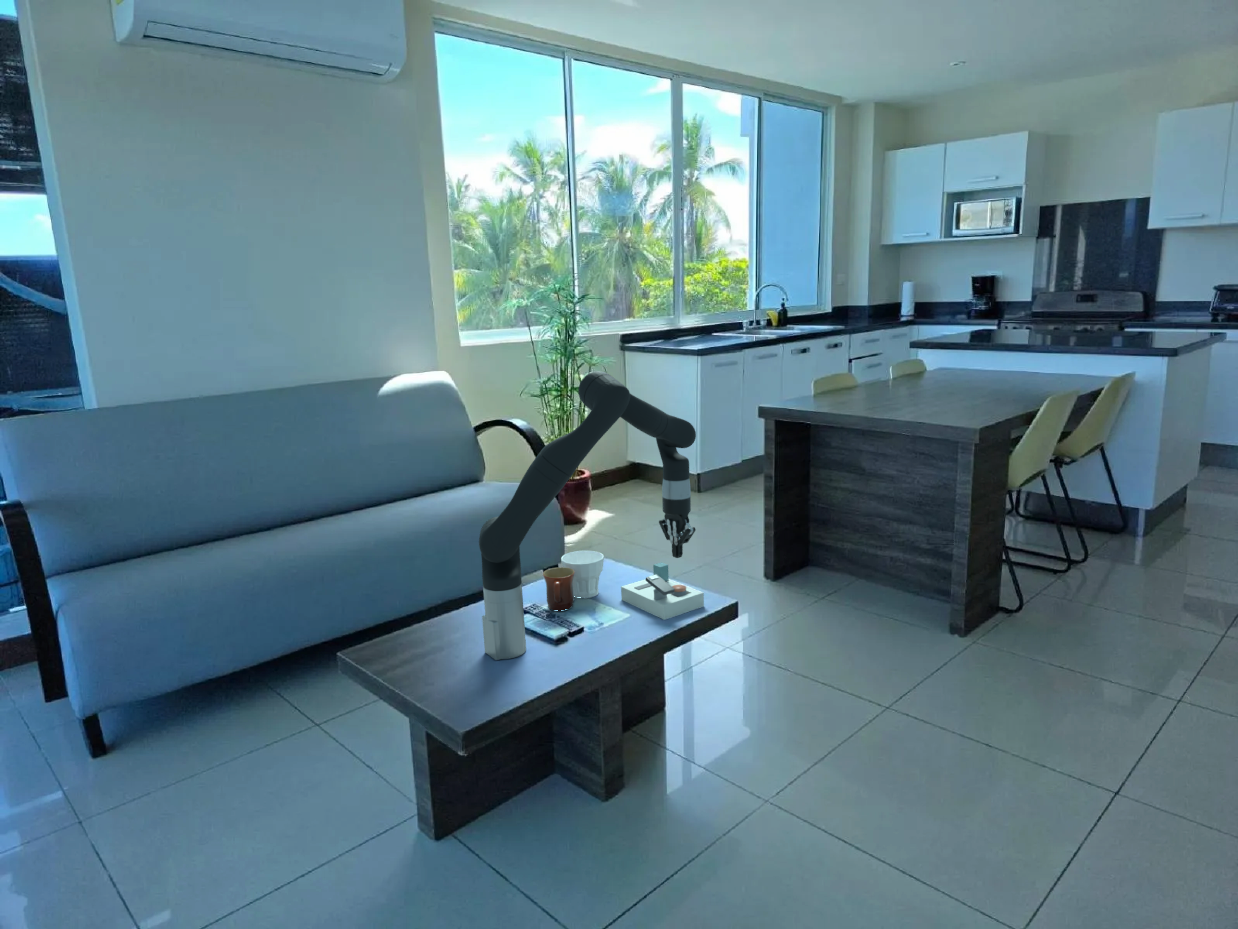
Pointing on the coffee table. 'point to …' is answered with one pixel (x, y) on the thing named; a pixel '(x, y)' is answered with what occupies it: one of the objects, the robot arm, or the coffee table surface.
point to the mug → (559, 588)
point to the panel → (661, 599)
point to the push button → (679, 590)
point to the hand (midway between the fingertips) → (677, 556)
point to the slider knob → (661, 570)
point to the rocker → (660, 584)
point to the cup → (584, 571)
